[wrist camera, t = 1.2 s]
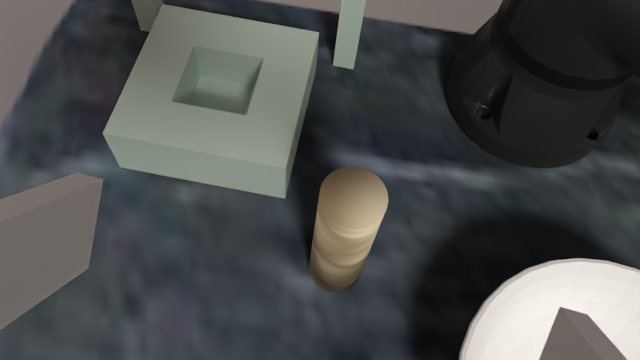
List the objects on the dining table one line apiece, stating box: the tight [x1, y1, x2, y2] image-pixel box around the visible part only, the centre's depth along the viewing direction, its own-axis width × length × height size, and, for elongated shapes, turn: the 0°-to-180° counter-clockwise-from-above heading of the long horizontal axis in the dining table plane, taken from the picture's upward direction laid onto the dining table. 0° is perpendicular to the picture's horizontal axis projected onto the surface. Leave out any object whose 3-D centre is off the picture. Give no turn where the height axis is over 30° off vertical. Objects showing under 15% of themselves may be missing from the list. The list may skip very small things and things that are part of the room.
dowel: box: [309, 167, 388, 292], centre depth 36 cm, size 4×4×12 cm
